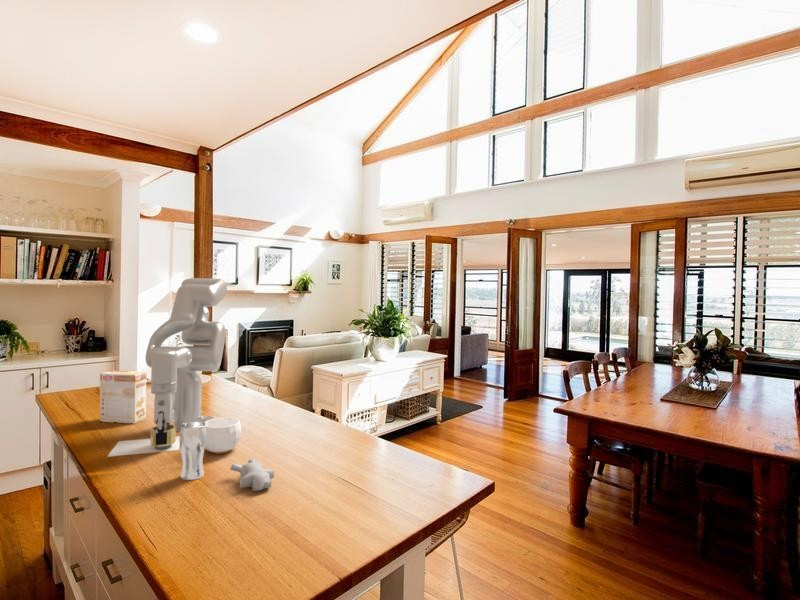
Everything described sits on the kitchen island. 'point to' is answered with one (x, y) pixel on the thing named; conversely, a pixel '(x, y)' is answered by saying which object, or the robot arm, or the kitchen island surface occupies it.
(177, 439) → the stand
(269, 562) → the kitchen island surface
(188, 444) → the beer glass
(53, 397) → the kitchen island surface
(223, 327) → the robot arm
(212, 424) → the cup
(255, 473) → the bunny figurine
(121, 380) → the coffeecake box
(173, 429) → the brass ring
